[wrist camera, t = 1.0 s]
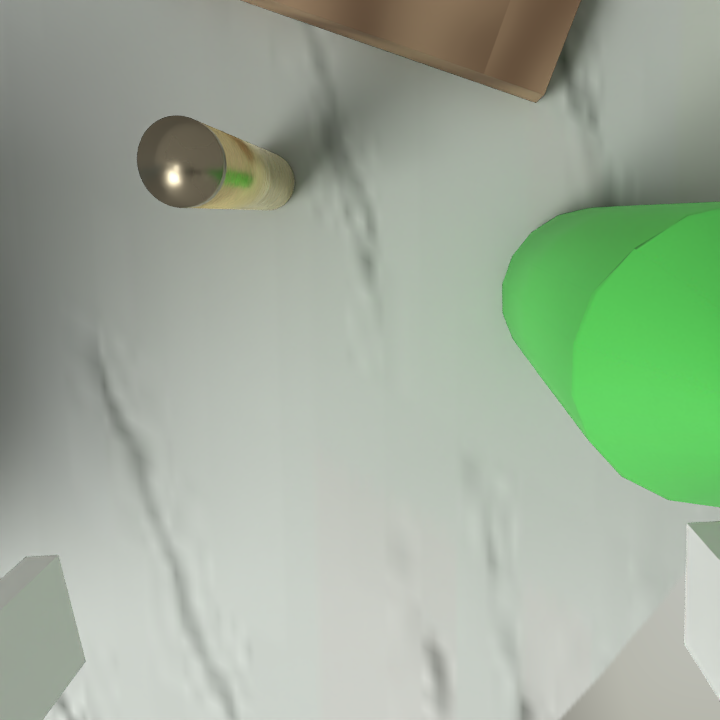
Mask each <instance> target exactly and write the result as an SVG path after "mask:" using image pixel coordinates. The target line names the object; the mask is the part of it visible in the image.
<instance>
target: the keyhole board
mask: <svg viewBox="0 0 720 720" xmlns="http://www.w3.org/2000/svg"><path fill="white" fill-rule="evenodd" d="M241 1H244V2H247V3H250V4H253V5H256V6H259V7H261V8H264V9H267V10H270V11H273V12H276V13H279V14H282V15H284V16H287V17H290V18H293V19H296V20H299V21H302V22H305V23H308V24H310V25H313V26H316V27H319V28H322V29H325V30H328V31H331V32H333V33H336V34H339V35H342V36H345V37H348V38H351V39H354V40H357V41H359V42H362V43H365V44H368V45H371V46H374V47H377V48H380V49H382V50H385V51H388V52H391V53H394V54H397V55H400V56H403V57H405V58H408V59H411V60H414V61H417V62H420V63H423V64H426V65H429V66H431V67H434V68H437V69H440V70H443V71H446V72H449V73H452V74H454V75H457V76H460V77H463V78H466V79H469V80H472V81H475V82H478V83H480V84H483V85H486V86H489V87H492V88H495V89H498V90H501V91H503V92H506V93H509V94H512V95H515V96H518V97H521V98H524V99H526V100H529V101H532V102H535V103H536V102H537V101H538V100H539V99H540V98H541V97H542V96H543V95H544V94H545V91H546V89H547V86H548V84H549V81H550V79H551V76H552V73H553V71H554V68H555V66H556V63H557V61H558V58H559V55H560V53H561V50H562V48H563V45H564V43H565V40H566V37H567V35H568V32H569V30H570V27H571V25H572V22H573V20H574V17H575V14H576V12H577V9H578V7H579V4H580V2H581V0H241Z"/></svg>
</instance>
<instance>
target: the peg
mask: <svg viewBox="0 0 720 720" xmlns="http://www.w3.org/2000/svg"><path fill="white" fill-rule="evenodd" d="M137 165H138V170H139V174H140V177H141V179H142V181H143V183H144V185H145V186H146V188H147V189H148V191H149V192H150V193H151V194H152V195H153V196H154V197H155V198H157V199H158V200H159V201H161V202H163V203H165V204H167V205H169V206H173V207H179V208H208V209H242V210H274V209H277V208H280V207H281V206H283V205H284V204H285V203H286V202H287V201H288V200H289V199H290V197H291V195H292V193H293V190H294V175H293V171H292V169H291V167H290V165H289V164H288V163H287V162H286V161H285V160H284V159H283V158H282V157H280V156H279V155H277V154H274V153H272V152H269V151H267V150H265V149H262V148H260V147H258V146H255V145H253V144H251V143H248V142H246V141H243V140H241V139H239V138H236V137H234V136H232V135H229V134H227V133H225V132H222V131H220V130H217V129H215V128H213V127H210V126H208V125H206V124H203V123H201V122H199V121H196V120H194V119H192V118H189V117H185V116H168V117H165V118H162V119H160V120H158V121H156V122H155V123H153V124H152V125H151V126H150V127H149V128H148V129H147V130H146V132H145V133H144V135H143V136H142V138H141V141H140V143H139V147H138V152H137Z"/></svg>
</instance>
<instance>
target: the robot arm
mask: <svg viewBox="0 0 720 720" xmlns="http://www.w3.org/2000/svg"><path fill="white" fill-rule="evenodd" d="M685 584H686V585H685V630H684V631H685V632H684V645H685V646H686V648H687V649H688V651H689V653H690V654H691V656H692V657H693V659H694V661H695V662H696V663H697V665H698V667H699V668H700V670H701V672H702V673H703V675H704V677H705V678H706V680H707V681H708V683H709V684H710V686H711V688H712V689H713V691H714V692H715V694H716V696H717V697H718V699H719V700H720V521H715V522H696V523H687V534H686V583H685ZM85 662H86V661H85V657H84V653H83V649H82V645H81V641H80V637H79V633H78V630H77V626H76V622H75V618H74V614H73V610H72V606H71V602H70V599H69V595H68V591H67V587H66V583H65V579H64V575H63V571H62V568H61V564H60V560H59V556H58V555H50V556H30V557H25V558H24V559H23V560H22V561H21V562H20V563H18V564H17V565H16V566H15V567H14V568H13V569H12V570H10V571H9V572H8V573H7V574H6V575H5V576H4V577H3V578H1V579H0V720H43V719H44V717H45V716H46V715H47V713H48V712H49V710H50V709H51V708H52V706H53V705H54V704H55V702H56V701H57V700H58V698H59V697H60V696H61V694H62V693H63V691H64V690H65V689H66V687H67V686H68V685H69V683H70V682H71V681H72V679H73V678H74V676H75V675H76V674H77V672H78V671H79V670H80V668H81V667H82V666H83V664H84V663H85Z"/></svg>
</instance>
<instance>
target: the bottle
mask: <svg viewBox="0 0 720 720" xmlns="http://www.w3.org/2000/svg"><path fill="white" fill-rule="evenodd" d="M502 304H503V315H504V318H505V320H506V323H507V325H508V328H509V331H510V333H511V336H512V338H513V340H514V341H515V343H516V344H517V345H518V347H519V348H520V349H521V351H522V352H523V353H524V355H525V356H526V358H527V359H528V360H529V362H530V363H531V364H532V366H533V367H534V368H535V370H536V371H537V373H538V374H539V375H540V377H541V378H542V379H543V381H544V382H545V383H546V385H547V386H548V387H549V389H550V390H551V391H552V393H553V394H554V395H555V397H556V398H557V399H558V401H559V402H560V403H561V404H562V406H563V407H564V408H565V410H566V411H567V412H568V414H569V415H570V416H571V418H572V419H573V420H574V422H575V423H576V424H577V426H578V427H579V428H580V430H581V431H582V432H583V434H584V435H585V436H586V438H587V439H588V440H589V441H590V442H591V444H592V445H593V446H594V447H595V448H596V449H597V450H598V451H599V452H600V453H601V455H602V456H603V457H604V458H605V459H606V460H607V461H608V462H609V463H610V464H611V465H612V467H613V468H614V469H615V470H616V471H617V472H618V473H619V474H620V475H621V476H622V477H624V478H626V479H628V480H630V481H632V482H634V483H636V484H638V485H640V486H642V487H644V488H646V489H648V490H650V491H652V492H653V493H655V494H657V495H659V496H661V497H663V498H665V499H668V500H672V501H679V502H686V503H693V504H700V505H707V506H714V507H720V202H701V203H677V204H654V205H632V206H614V207H595V208H586V209H582V210H578V211H574V212H570V213H565V214H561V215H558V216H556V217H555V218H553V219H552V220H550V221H548V222H547V223H545V224H544V225H542V226H541V227H539V228H537V229H536V230H534V231H533V232H531V234H530V235H529V236H528V237H527V239H526V240H525V241H524V242H523V244H522V245H521V246H520V247H519V249H518V250H517V251H516V252H515V254H514V255H513V256H512V259H511V261H510V264H509V267H508V270H507V273H506V275H505V278H504V281H503V284H502Z"/></svg>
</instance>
